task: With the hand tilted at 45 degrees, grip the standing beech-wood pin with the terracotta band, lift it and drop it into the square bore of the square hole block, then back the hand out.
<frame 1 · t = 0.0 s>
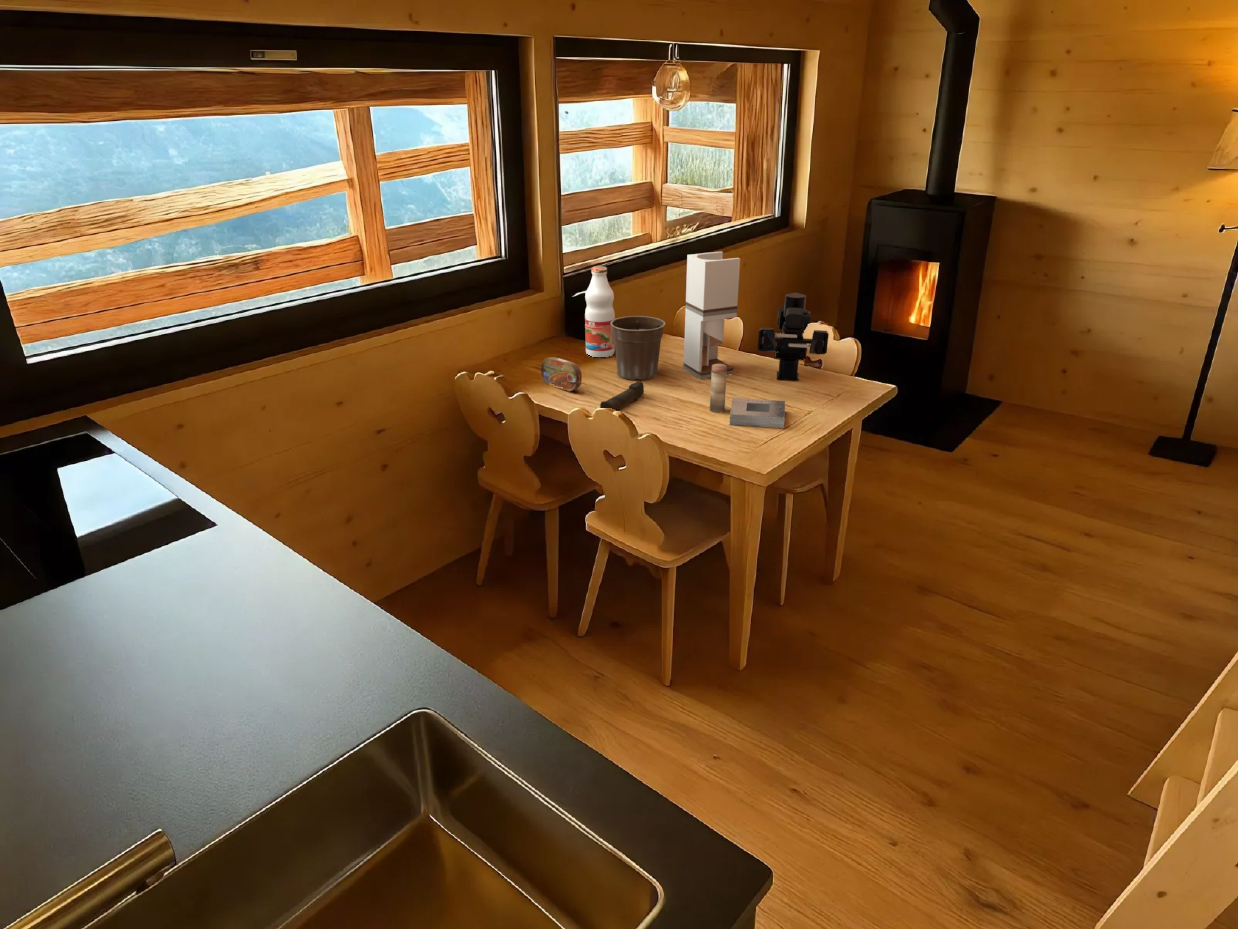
hand: (792, 350, 224), 17 cm above the table, tool horizontal, fingers open, 9 cm apart
white tower stand: (708, 372, 259), on the table
square hole block: (757, 417, 225), on the table
plant pot: (637, 374, 257), on the table
tin: (561, 387, 247), on the table
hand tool: (623, 405, 235), on the table
beech pin: (717, 409, 230), on the table
fruit juice: (600, 354, 274), on the table
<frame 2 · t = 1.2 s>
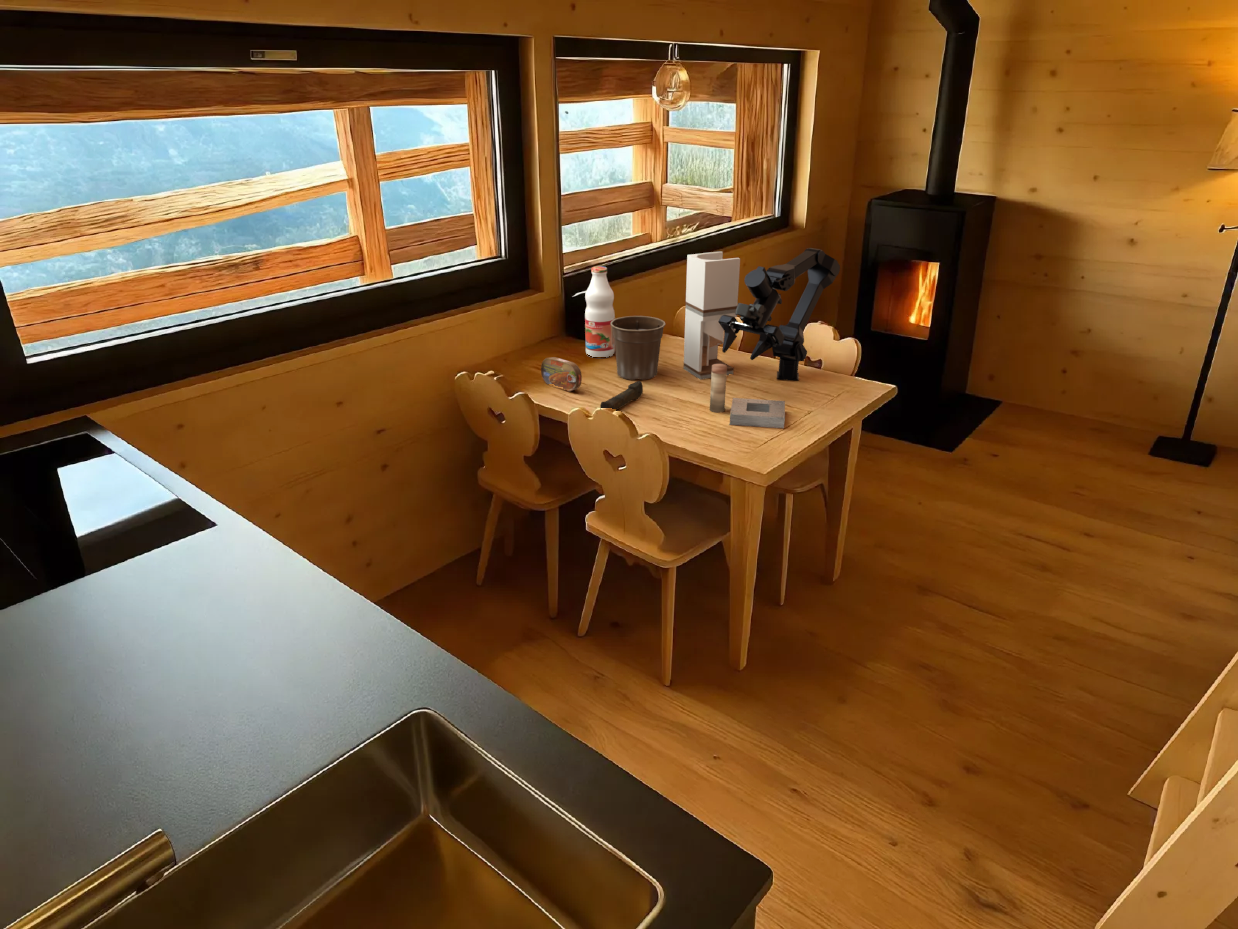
hand: (737, 355, 230), 14 cm above the table, tool tilted 45°, fingers open, 9 cm apart
nothing on the table moved.
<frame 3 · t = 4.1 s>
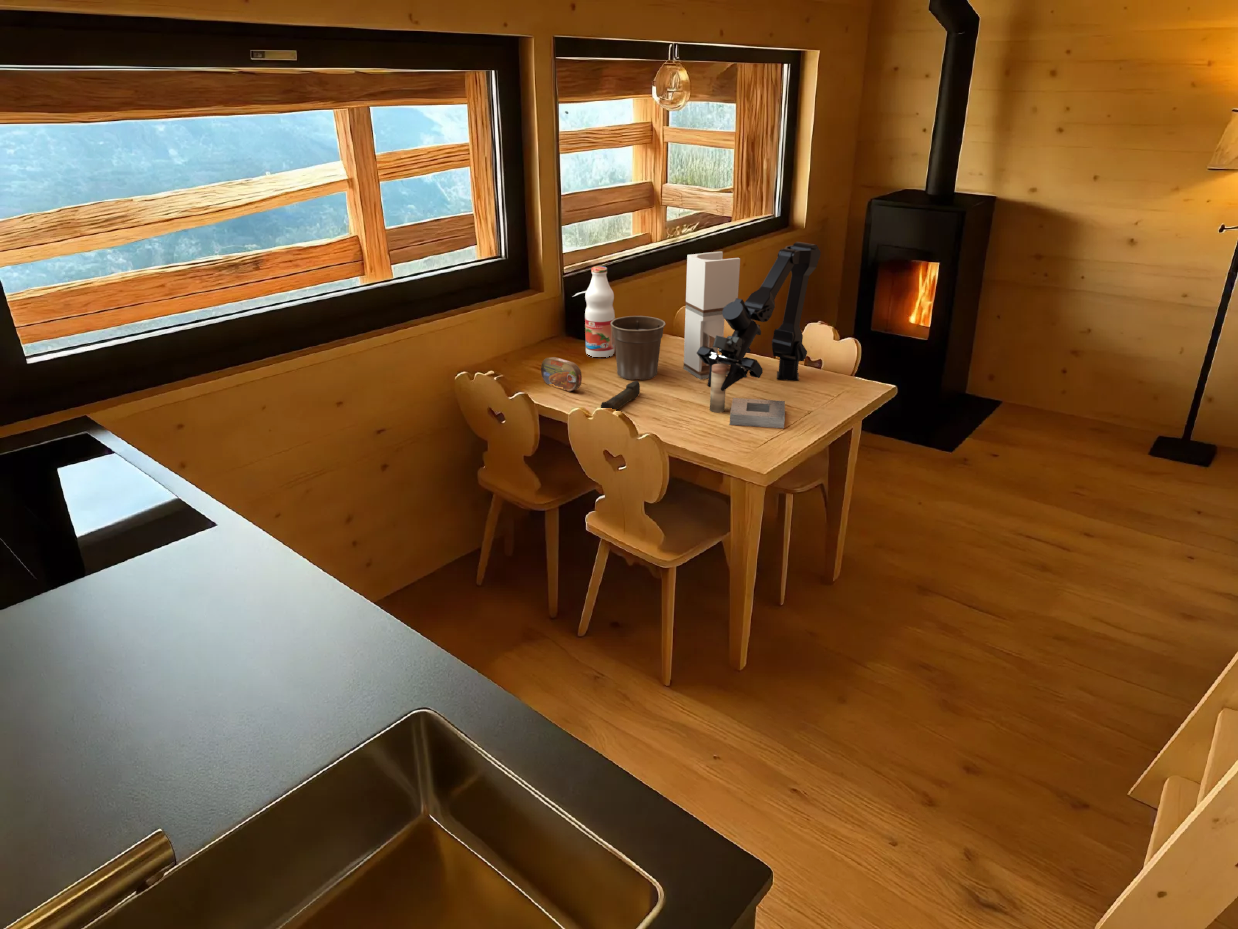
hand: (715, 388, 227), 7 cm above the table, tool tilted 45°, fingers closed on beech pin, 4 cm apart
beech pin: (717, 409, 230), on the table, touching gripper
everything else where it was.
when the fingers open (8 cm above the table, at t = 8.5 s): beech pin drops 1 cm, resting in square hole block.
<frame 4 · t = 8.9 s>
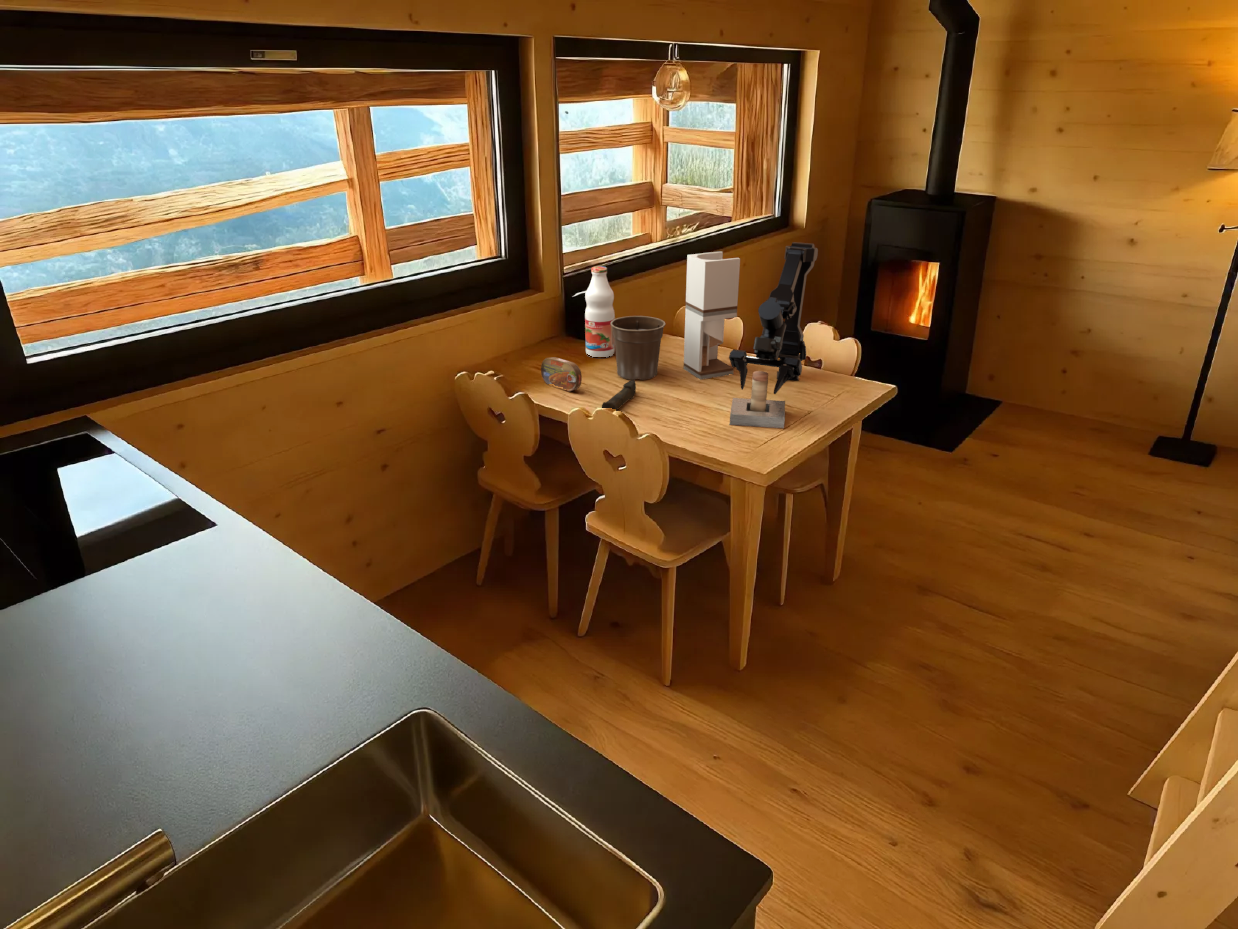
hand: (757, 391, 221), 8 cm above the table, tool tilted 45°, fingers open, 8 cm apart
beech pin: (757, 417, 225), resting in square hole block
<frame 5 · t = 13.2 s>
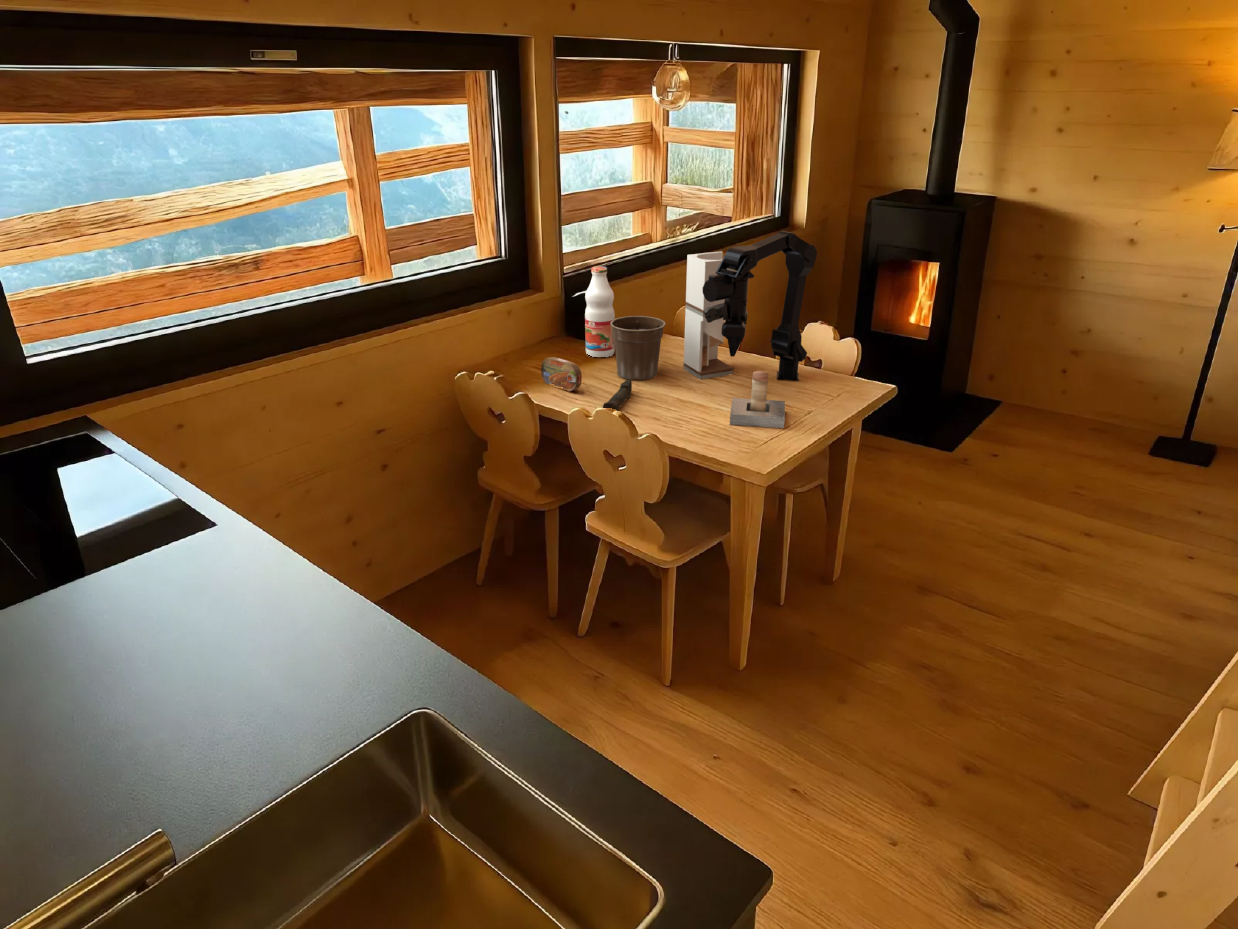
hand: (733, 351, 235), 13 cm above the table, tool pointing down, fingers open, 9 cm apart
at the end: beech pin 0.0 cm off-centre on the square hole block, point 0.0 cm above the square hole block's base; beech pin tilted 0°; the gripper is holding nothing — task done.
